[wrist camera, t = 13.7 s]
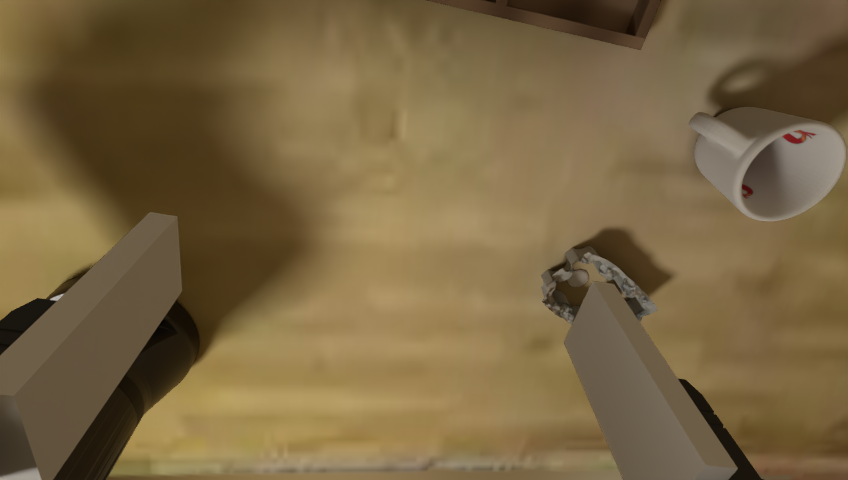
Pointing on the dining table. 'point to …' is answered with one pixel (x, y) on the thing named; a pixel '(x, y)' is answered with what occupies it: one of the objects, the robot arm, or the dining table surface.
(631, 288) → the egg carton
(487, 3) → the caddy
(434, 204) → the dining table surface
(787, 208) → the cup
